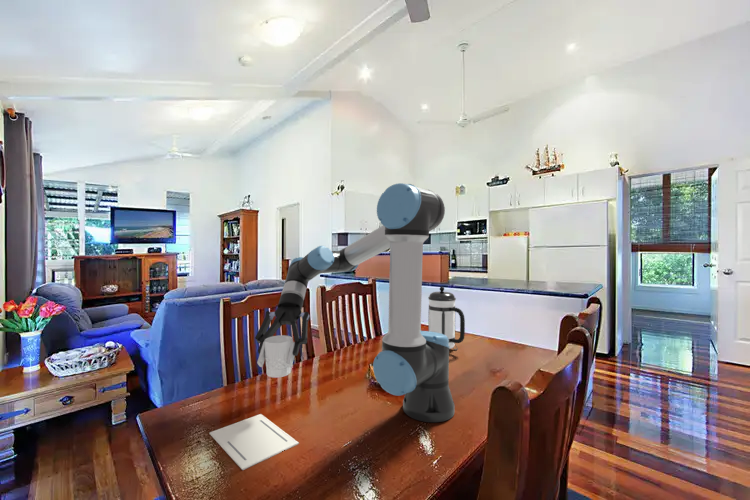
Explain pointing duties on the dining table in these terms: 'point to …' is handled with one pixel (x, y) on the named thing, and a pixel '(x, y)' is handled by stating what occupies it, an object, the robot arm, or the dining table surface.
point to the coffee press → (445, 316)
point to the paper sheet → (252, 440)
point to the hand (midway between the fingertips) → (274, 365)
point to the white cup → (277, 355)
